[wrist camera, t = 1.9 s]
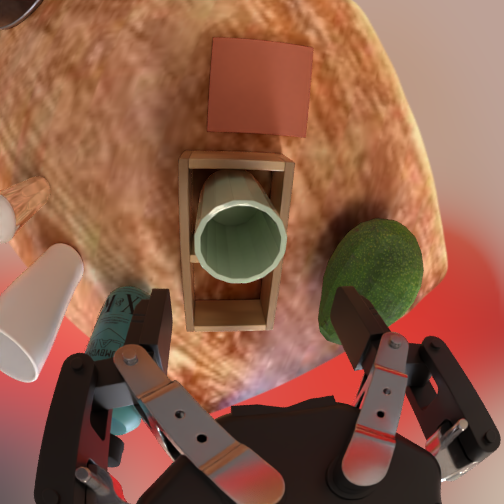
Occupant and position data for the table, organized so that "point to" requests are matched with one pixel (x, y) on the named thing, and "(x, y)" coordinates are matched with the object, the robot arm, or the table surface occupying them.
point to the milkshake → (21, 205)
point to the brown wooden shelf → (197, 311)
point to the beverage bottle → (104, 346)
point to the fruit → (374, 271)
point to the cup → (237, 228)
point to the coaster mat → (259, 87)
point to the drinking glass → (36, 310)
